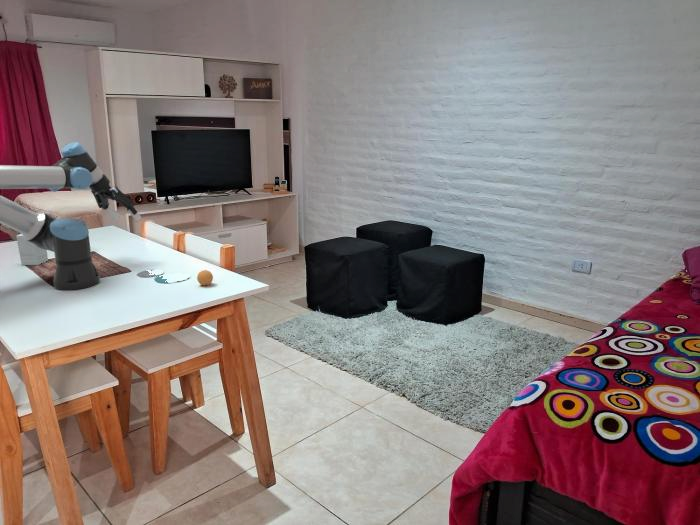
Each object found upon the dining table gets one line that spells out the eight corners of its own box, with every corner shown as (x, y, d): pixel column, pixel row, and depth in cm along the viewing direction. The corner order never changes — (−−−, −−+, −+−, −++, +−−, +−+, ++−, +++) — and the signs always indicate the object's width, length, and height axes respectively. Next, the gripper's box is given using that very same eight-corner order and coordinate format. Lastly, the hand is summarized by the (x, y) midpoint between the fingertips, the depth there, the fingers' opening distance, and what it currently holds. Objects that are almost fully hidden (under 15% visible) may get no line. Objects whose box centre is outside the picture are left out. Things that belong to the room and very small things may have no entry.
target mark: (171, 285, 194) (171, 284, 194) (146, 280, 200) (146, 279, 200) (197, 276, 205) (197, 275, 205) (173, 271, 211) (173, 270, 211)
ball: (205, 288, 191) (204, 273, 189) (194, 285, 193) (193, 271, 192) (216, 284, 195) (215, 269, 194) (205, 281, 198) (204, 267, 196)
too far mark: (149, 278, 202) (149, 278, 202) (131, 275, 206) (131, 274, 206) (169, 272, 210) (169, 271, 210) (152, 268, 215) (152, 268, 215)
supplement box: (49, 260, 227) (44, 231, 224) (37, 265, 220) (32, 235, 217) (32, 260, 228) (27, 231, 224) (20, 265, 221) (15, 235, 217)
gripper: (122, 171, 205) (153, 213, 218) (82, 173, 217) (114, 213, 231) (109, 184, 200) (142, 226, 214) (69, 185, 213) (103, 225, 226)
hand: (128, 219), depth 222 cm, fingers open, 13 cm apart
